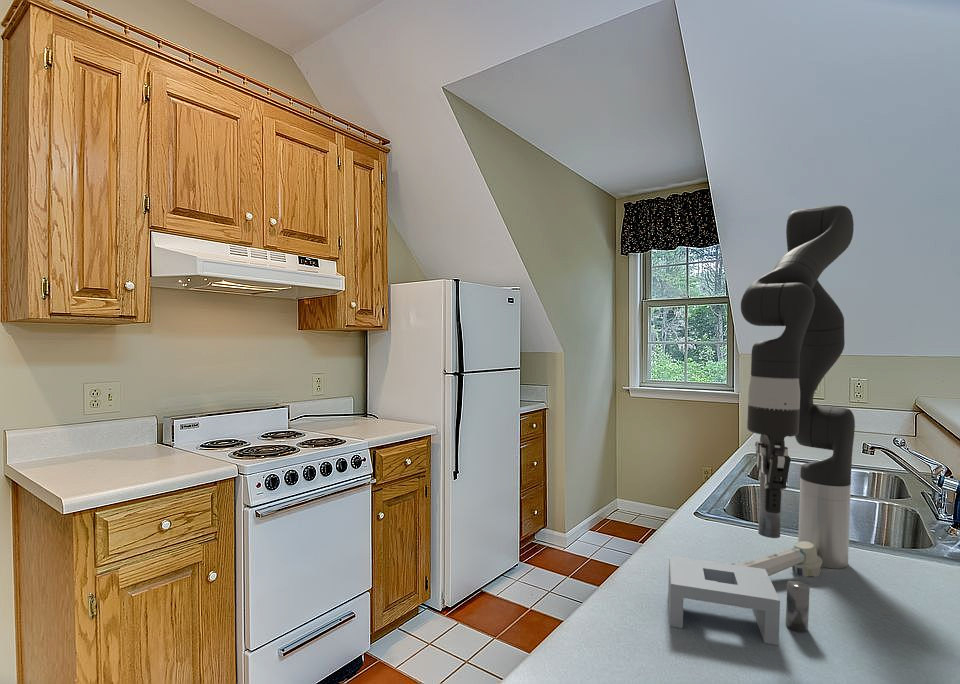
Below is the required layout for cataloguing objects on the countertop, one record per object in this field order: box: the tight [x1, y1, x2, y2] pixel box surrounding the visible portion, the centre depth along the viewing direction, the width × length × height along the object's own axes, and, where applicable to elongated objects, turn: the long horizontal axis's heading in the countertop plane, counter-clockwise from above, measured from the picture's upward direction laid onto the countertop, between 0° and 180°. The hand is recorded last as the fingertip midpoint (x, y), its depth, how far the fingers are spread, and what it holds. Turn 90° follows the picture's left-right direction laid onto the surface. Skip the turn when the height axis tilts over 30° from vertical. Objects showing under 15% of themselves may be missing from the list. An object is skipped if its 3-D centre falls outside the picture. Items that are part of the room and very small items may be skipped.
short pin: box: [785, 580, 811, 634], centre depth 90 cm, size 3×3×7 cm
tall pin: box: [757, 467, 783, 539], centre depth 90 cm, size 3×3×12 cm
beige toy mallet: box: [721, 541, 822, 584], centre depth 108 cm, size 5×7×25 cm
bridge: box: [667, 555, 781, 646], centre depth 93 cm, size 12×16×7 cm
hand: (769, 508), depth 90 cm, fingers closed on tall pin, 3 cm apart
